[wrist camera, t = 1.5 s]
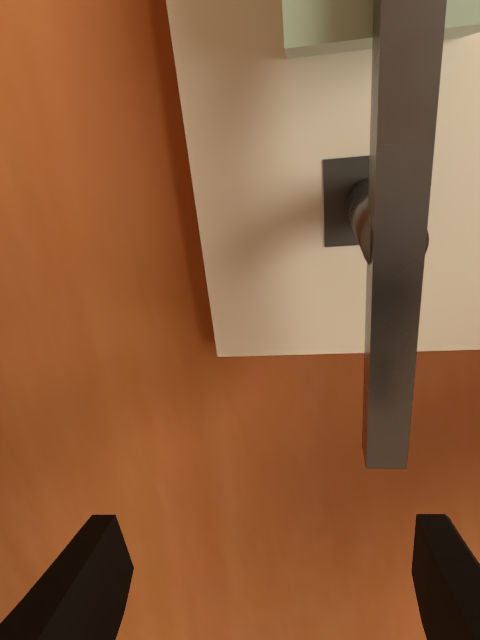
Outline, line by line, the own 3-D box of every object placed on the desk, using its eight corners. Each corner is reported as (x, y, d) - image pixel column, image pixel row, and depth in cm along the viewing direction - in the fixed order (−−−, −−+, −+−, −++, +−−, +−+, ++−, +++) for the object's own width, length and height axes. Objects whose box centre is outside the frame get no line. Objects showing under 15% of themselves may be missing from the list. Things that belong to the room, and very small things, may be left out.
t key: (404, -19, 12) (465, -79, 8) (384, 374, 18) (413, 468, 14) (345, -10, 13) (371, -65, 8) (344, 375, 18) (359, 468, 14)
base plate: (989, -454, 9) (1068, -516, 8) (685, 330, 17) (708, 344, 16) (138, -253, 12) (124, -282, 11) (220, 345, 20) (217, 357, 19)
